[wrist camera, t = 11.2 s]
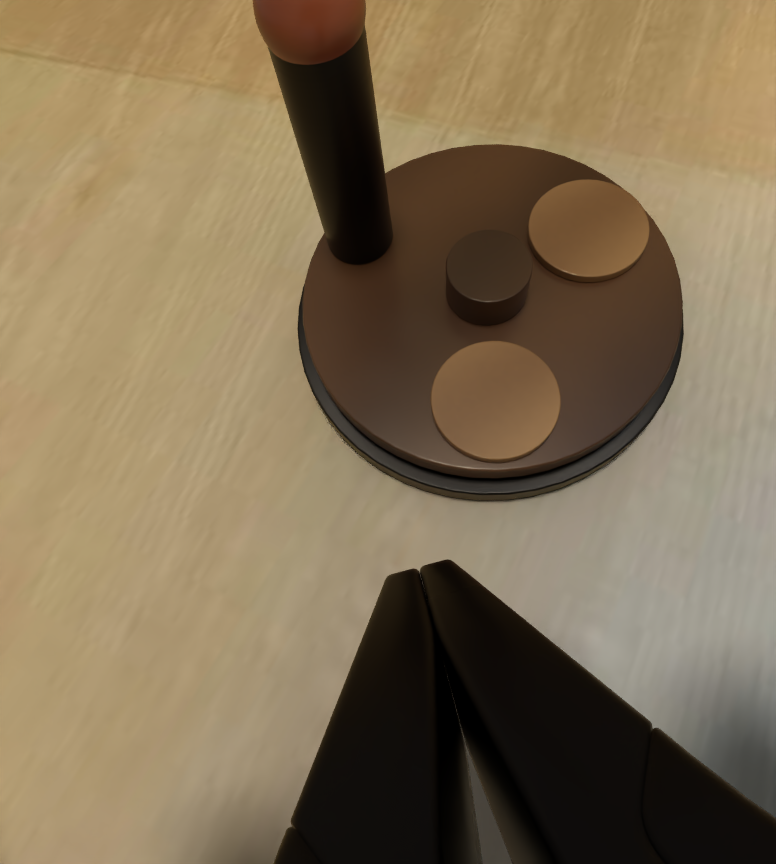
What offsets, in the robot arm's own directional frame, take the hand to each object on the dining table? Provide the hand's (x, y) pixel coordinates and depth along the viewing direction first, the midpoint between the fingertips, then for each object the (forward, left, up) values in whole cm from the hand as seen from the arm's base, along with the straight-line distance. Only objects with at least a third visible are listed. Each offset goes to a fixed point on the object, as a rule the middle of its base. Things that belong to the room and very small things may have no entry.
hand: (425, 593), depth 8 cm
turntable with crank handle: (+7, -9, -12) cm, 17 cm away
